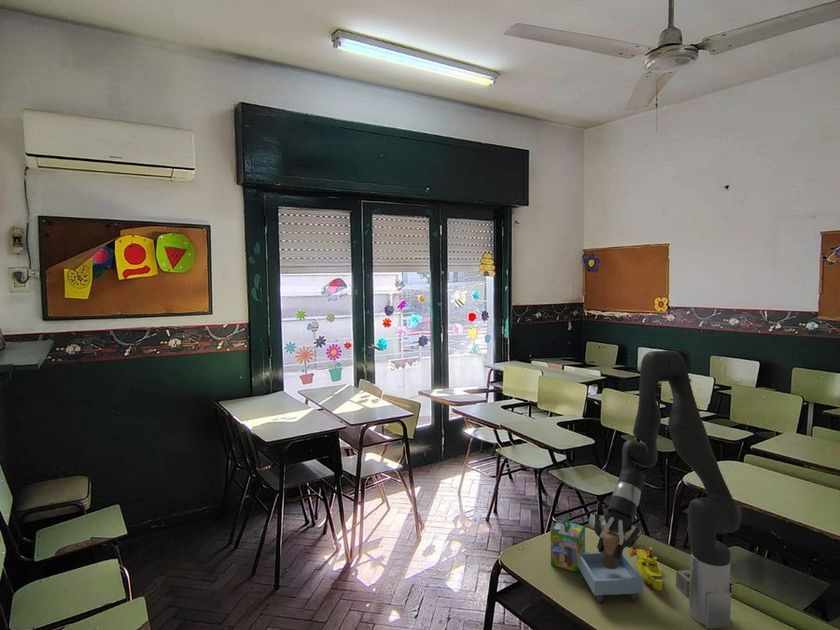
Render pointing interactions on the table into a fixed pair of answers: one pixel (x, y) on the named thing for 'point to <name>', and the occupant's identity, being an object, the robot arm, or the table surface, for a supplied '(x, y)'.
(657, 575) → the yellow toy submarine
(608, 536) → the cylinder
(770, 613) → the table surface
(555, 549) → the chalk box
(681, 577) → the grey cube with hole
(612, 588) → the wheeled cart
